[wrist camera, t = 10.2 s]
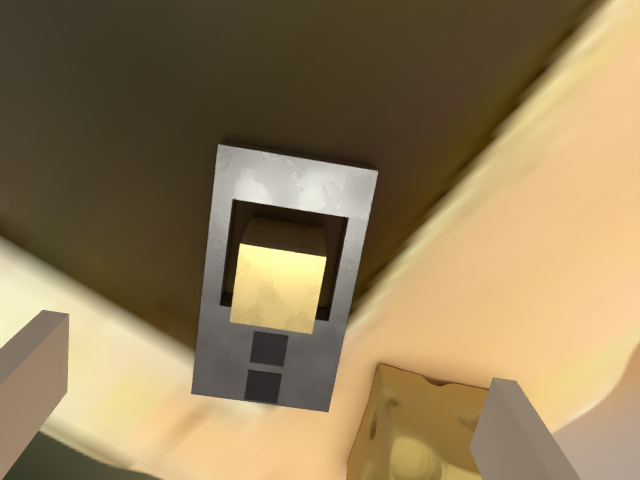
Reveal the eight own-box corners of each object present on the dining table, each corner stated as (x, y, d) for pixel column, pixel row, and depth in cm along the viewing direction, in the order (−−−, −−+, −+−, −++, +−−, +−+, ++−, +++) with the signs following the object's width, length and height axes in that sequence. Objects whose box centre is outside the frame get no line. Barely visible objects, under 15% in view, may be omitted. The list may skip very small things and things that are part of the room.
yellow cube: (251, 215, 34) (239, 243, 29) (324, 227, 35) (326, 257, 29) (242, 282, 36) (229, 321, 30) (311, 293, 36) (311, 334, 31)
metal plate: (223, 140, 33) (217, 144, 31) (374, 165, 33) (378, 171, 31) (197, 378, 38) (190, 394, 36) (327, 395, 39) (328, 412, 37)
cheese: (375, 359, 38) (397, 454, 29) (509, 389, 39) (573, 489, 30) (339, 468, 41) (348, 586, 32) (464, 493, 42) (508, 614, 33)
